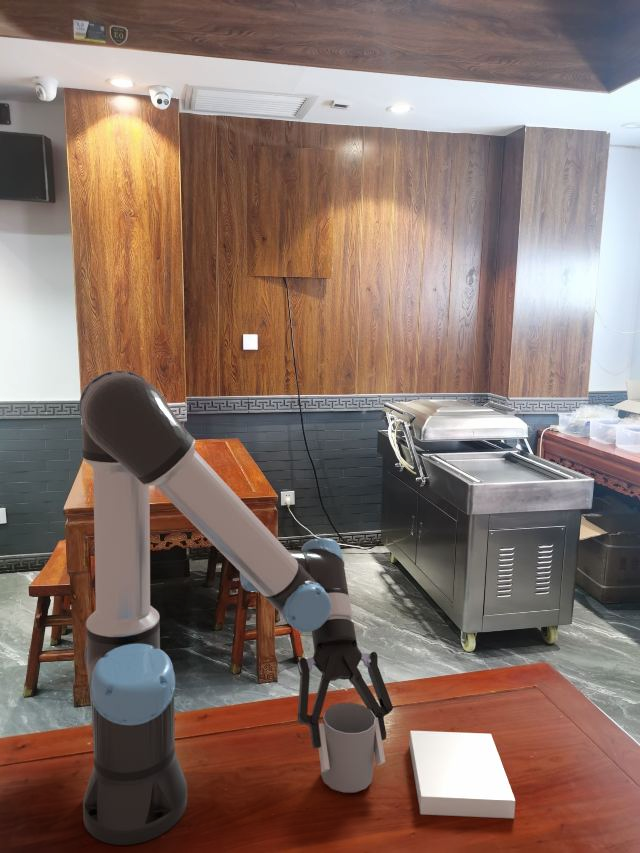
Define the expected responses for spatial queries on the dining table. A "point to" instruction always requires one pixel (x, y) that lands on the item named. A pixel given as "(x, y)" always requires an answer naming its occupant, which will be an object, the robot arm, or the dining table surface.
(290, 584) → the robot arm
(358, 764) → the cup
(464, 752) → the raised board
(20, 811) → the dining table surface
